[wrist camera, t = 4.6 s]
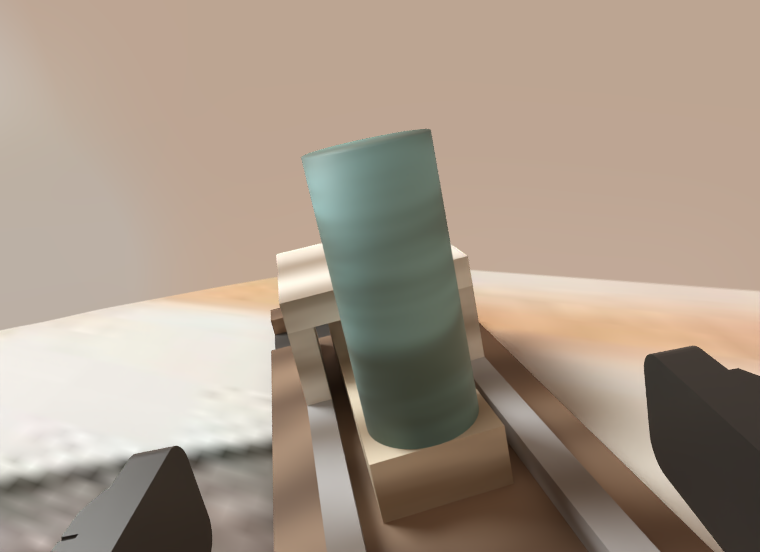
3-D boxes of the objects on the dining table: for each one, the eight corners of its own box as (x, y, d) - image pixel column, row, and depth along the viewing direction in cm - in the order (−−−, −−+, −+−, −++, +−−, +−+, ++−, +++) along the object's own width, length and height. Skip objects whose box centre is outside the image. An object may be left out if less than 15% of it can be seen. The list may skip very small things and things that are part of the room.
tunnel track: (1124, 1025, 9) (1245, 642, 7) (313, 1423, 8) (103, 1107, 5) (428, 287, 48) (411, 193, 46) (275, 327, 47) (249, 232, 45)
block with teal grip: (513, 483, 21) (456, 128, 18) (383, 523, 21) (295, 164, 17) (412, 331, 37) (369, 123, 33) (335, 352, 36) (282, 142, 32)
